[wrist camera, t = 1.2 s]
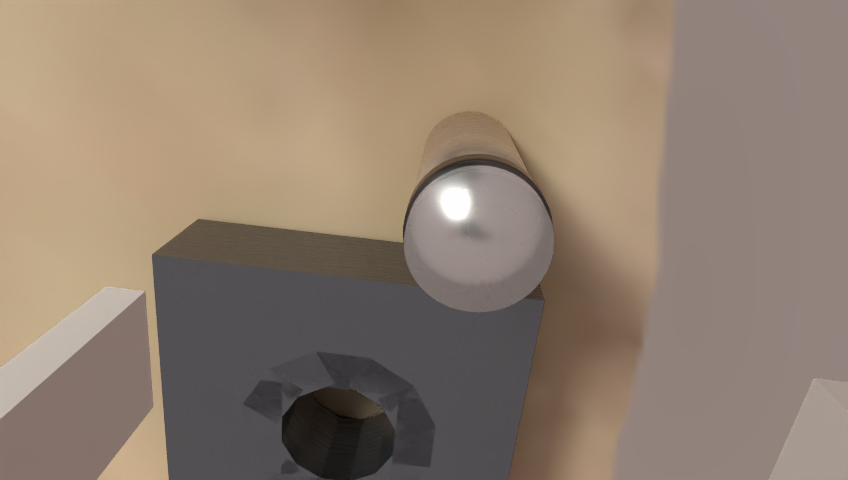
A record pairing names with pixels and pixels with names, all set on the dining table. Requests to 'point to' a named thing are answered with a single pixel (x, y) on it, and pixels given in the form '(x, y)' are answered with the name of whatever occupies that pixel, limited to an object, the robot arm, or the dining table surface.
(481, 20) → the dining table surface
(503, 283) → the silver metal cylinder
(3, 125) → the dining table surface
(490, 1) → the dining table surface
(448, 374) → the flange plate
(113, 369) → the robot arm
